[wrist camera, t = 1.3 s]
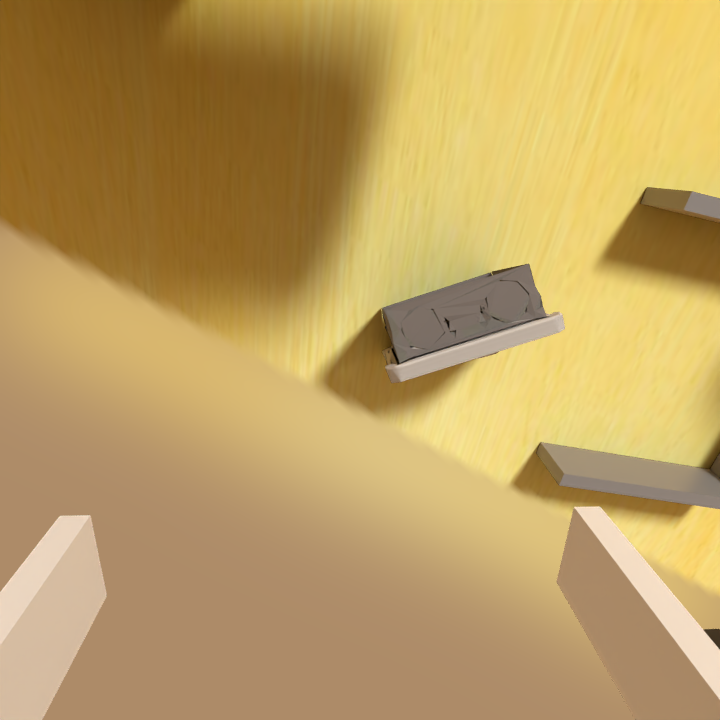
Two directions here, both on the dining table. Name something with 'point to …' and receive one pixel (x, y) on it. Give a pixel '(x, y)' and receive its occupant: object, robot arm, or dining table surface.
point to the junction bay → (634, 473)
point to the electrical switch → (465, 322)
